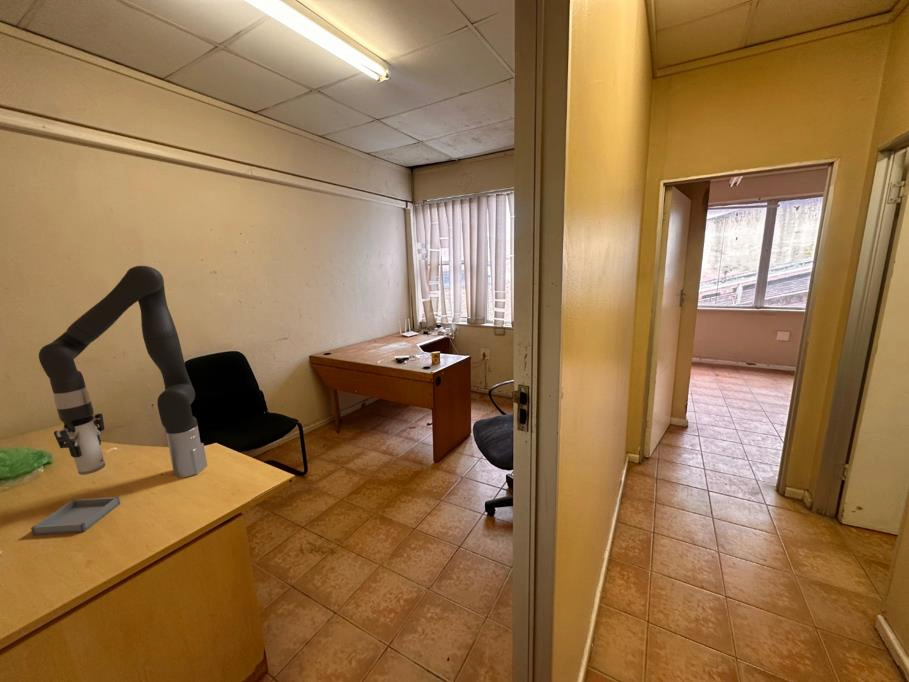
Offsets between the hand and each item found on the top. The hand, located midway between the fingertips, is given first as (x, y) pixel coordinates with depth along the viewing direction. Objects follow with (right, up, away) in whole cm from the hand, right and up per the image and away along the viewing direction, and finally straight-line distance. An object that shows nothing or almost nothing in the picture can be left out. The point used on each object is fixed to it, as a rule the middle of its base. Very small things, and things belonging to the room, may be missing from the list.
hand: (87, 451), depth 115 cm
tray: (+6, -18, -8) cm, 21 cm away
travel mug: (0, -7, +2) cm, 7 cm away
